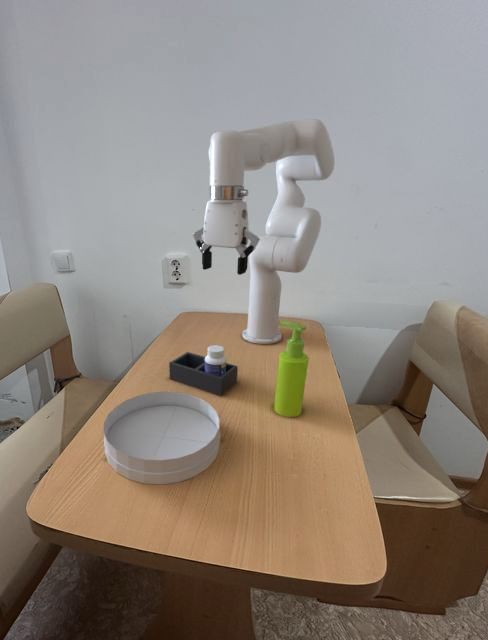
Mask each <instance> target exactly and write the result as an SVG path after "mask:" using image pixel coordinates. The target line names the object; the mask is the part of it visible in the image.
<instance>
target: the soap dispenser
mask: <svg viewBox="0 0 488 640" xmlns="http://www.w3.org/2000/svg"><path fill="white" fill-rule="evenodd" d="M278 327H285V328H290V329H292V334H291V337H290V338H288V339H287V340H286V350H284V351H282V352H280V353H279V355H278V366H277V377H276V385H275V393H274V394H275V395H274V402H273V403H274V404H273V410H274V412H275V413H276V414H278V415H280V416H282V417H285V418H295V417H298V416H300V415H301V413H302V409H303V401H304V396H305V395H304V394H305V388H306V381H307V373H308V366H309V359H310V358H309V356H308V355H307V354H306V353H304V349H305V340H304V339H302V338H301V337H302V332H303V331H306V329H307V326H306V325H304V324H300V323H298V322H295V321H289V320H287V321H286V320H285V321H280V323H279V324H278Z"/></svg>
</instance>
